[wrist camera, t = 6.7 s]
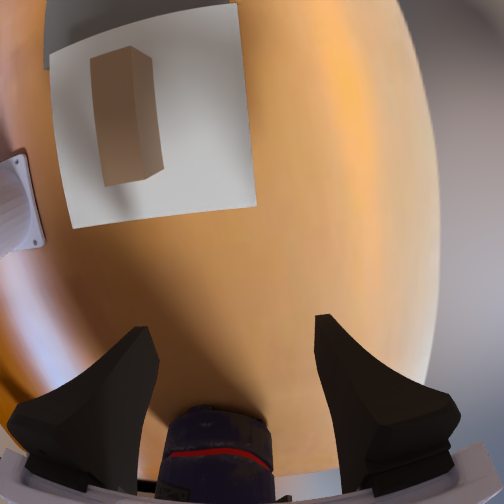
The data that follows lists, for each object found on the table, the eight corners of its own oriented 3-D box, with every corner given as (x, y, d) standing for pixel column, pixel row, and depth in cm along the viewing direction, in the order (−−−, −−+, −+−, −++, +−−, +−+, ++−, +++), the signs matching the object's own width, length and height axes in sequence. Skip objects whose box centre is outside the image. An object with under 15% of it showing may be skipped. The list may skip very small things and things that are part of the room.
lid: (79, 224, 17) (46, 248, 13) (56, 56, 12) (18, 48, 9) (256, 202, 16) (258, 225, 13) (237, 8, 12) (234, -22, 8)
